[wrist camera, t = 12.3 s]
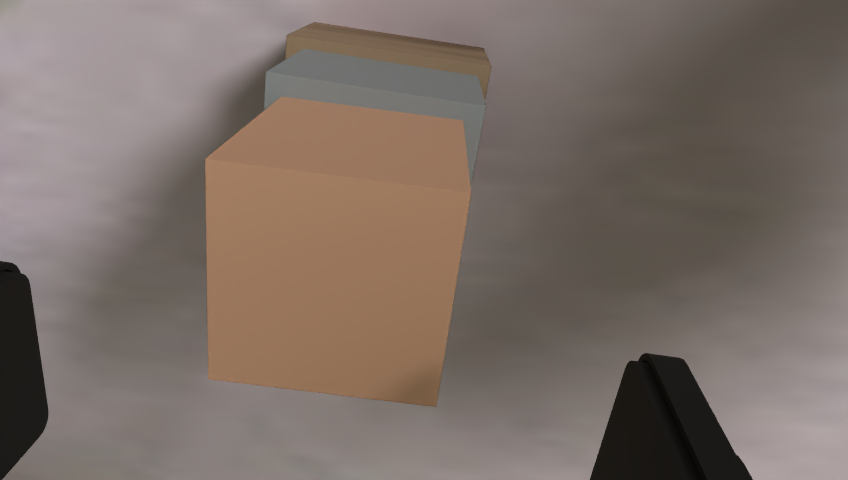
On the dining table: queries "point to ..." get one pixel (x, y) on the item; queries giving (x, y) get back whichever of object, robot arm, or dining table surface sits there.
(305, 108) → the terracotta block
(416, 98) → the slate top block
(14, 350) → the robot arm
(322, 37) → the walnut base block
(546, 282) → the dining table surface
